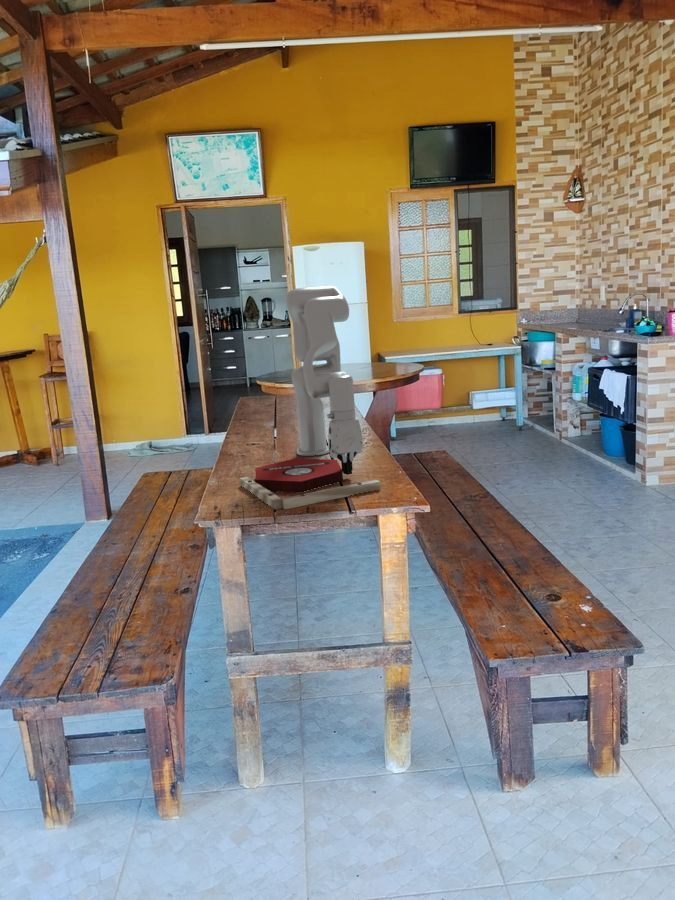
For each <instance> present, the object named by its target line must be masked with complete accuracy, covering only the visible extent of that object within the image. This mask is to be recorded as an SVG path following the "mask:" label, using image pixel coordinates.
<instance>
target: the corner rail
mask: <svg viewBox="0 0 675 900" xmlns="http://www.w3.org/2000/svg"><path fill="white" fill-rule="evenodd" d="M239 483H240V487H241V486H242V487H241V488H243V487H244V488H245V489H244V488H243V489H244V490H246V489H247V490H248V491H247V490H246V491H247V492H249V491H250V492H251V493H252V494H251V493H250V492H249V493H250V494H251V495H253V494H254V495H255V496H254V495H253V496H254V497H256V496H257V497H258V498H257V497H256V498H257V499H259V500H260V499H261V501H262V502H263V501H264V502H263V503H265V504H266V505H267V504H268V506H269V507H270V506H271V508H272V509H273V510H280V509H283V510H288V509H289V510H290V509H294V508H299V507H304V506H308V505H314V504H317V503H322V502H327V501H328V502H329V501H332V500H336V499H342V498H346V497H351V496H350V495H352V496H355V495H354V494H357V495H360V494H359V493H361V494H364V493H363V492H366V493H369V492H368V491H371V492H374V491H375V490H376V491H379V490H381V481H380V480H378V479H372V480H366V481H361V482H357V483H351V484H348V485H347V484H346V485H342V486H337V487H331V488H327V489H323V490H318V491H313V492H308V493H307V492H306V493H299V494H298V495H293V496H287V497H283V498H281V497H279V496H278V495H277V494H275V493H274V492H273V491H269V490H267V489H266V488H264V487H262V486H261V485H259V484H258V483H256V480H253V479H251V478H250V477H249V476H246V477H245V476H244V477H240V478H239Z"/></svg>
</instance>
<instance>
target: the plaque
mask: <svg viewBox="0 0 675 900" xmlns="http://www.w3.org/2000/svg"><path fill="white" fill-rule="evenodd" d="M254 469H255V470H254V474H255V482H256V483H258V484H259V485H261V486H262V487H264V488H266V489H267V490H270V492H277V491H280V492H279V493H282V492H283V493H296V492H303V493H305V492H304V491H307V490H310V491H312V490H311V489H314V488H318V487H321V488H323V487H322V486H325V485H329V484H332V485H335V484H334V483H336V484H338V483H337V482H340V483H342V482H341V481H343V482H344V475H343V474H344V473H343V472H342V466H341V465H340V463H339V462H338V459H327V458H326V459H322V458H321V459H318V458H291V459H288V460H287V459H286V460H282V461H278V462H275V463H270V464H267V465H266V464H265V465H262V466H258V467H255V468H254ZM329 486H330V485H329ZM325 487H326V486H325ZM318 489H319V488H318ZM314 490H315V489H314ZM281 491H282V492H281ZM307 492H308V491H307Z"/></svg>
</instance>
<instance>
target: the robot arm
mask: <svg viewBox="0 0 675 900" xmlns="http://www.w3.org/2000/svg"><path fill="white" fill-rule="evenodd" d="M285 299H286V300H285V301H286V307H287V311H288V314H289V316H290V318H291V322H292V327H293V344H294V345H293V347H294V356H295V359H296V360H297V361H298V362H300V363H303V365H300V366H297V367H296V368H294V369H293V371H292V373H291V380H292V381H291V382H292V387H293V390H294V395H295V399H296V400H295V401H296V411H297V421H298V422H297V423H298V433H299V434H298V435H299V440H297V441H296V442H297V445H299V448H297V449H296V454H297V455H298V456H305V457H311V456H313V457H314V456H315V455H316V456H322V455H325V454H329V457H330V458H332V459H337V460H339V461H340V462H341V463H340V464H341V465H340V466H341V469H342V472H343V474H344V475H347V476H348V475H352V474H353V462H354V459H355V457H356V455H359V454H361V453H362V452H363V448H364V440H363V433H362V428H361V424H360V419H359V418H358V417H356V405H355V390H354V379H353V377H352V375H350V374H349V373H347V372H346V371H342V370H341V368H342V367H341V365H342V364H341V348H340V347H341V346H340V342H339V338H338V335H337V332H336V327H335V323H342V322H346V321H347V320H348V319H349V317H350V307H349V303H348V301H347V299H346V297H345V296H344V294H343V293H342V292H341V291H340V290H339V289H338V288H337V287H336V286H334V285H333V286H332V285H324V286H322V285H321V286H306V287H299V288H293V289H290V290H288V292H287V294H286V298H285ZM321 361H322V362H323V361H326V363H318V364H317V363H315V364H314V362H321ZM321 398H324V399H325V398H328V399H329V409H330V411H329V413H327V414H326V418H327V419H328V420H329V419H330V421H329V422H328V431H326V421H325V409H324V408H325V407H324V402H323V401H322V399H321ZM327 433H328V435H327ZM327 437H328V445H327Z"/></svg>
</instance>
